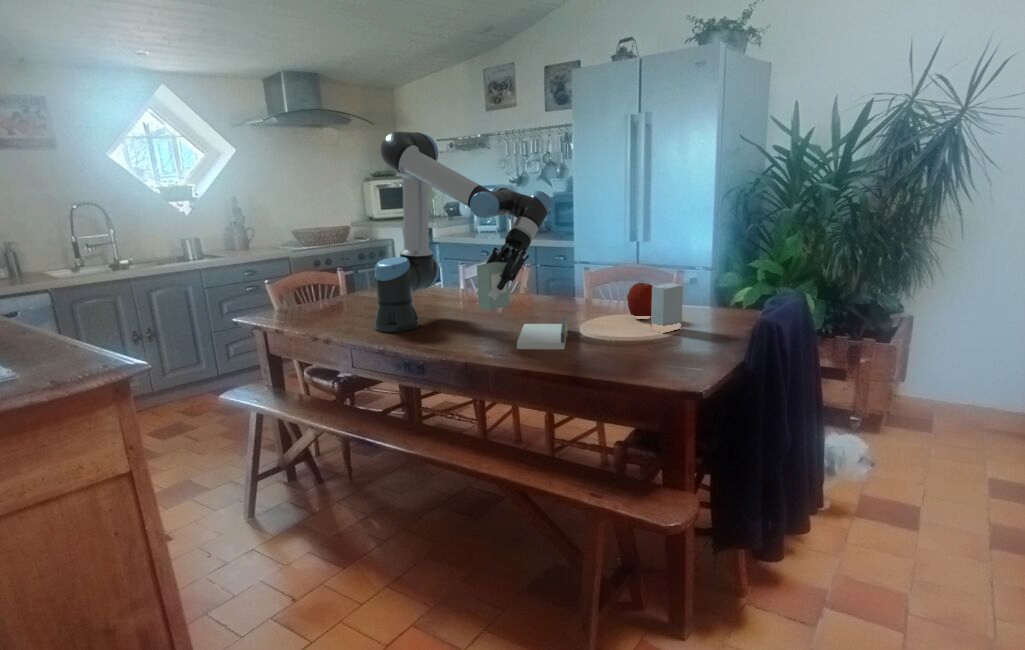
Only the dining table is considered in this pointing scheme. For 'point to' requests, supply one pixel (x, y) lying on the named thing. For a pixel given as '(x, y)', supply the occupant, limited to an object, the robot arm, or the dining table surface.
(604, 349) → the dining table surface
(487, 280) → the product carton
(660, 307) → the skincare box
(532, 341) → the shelf board
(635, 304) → the apple
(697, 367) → the dining table surface
